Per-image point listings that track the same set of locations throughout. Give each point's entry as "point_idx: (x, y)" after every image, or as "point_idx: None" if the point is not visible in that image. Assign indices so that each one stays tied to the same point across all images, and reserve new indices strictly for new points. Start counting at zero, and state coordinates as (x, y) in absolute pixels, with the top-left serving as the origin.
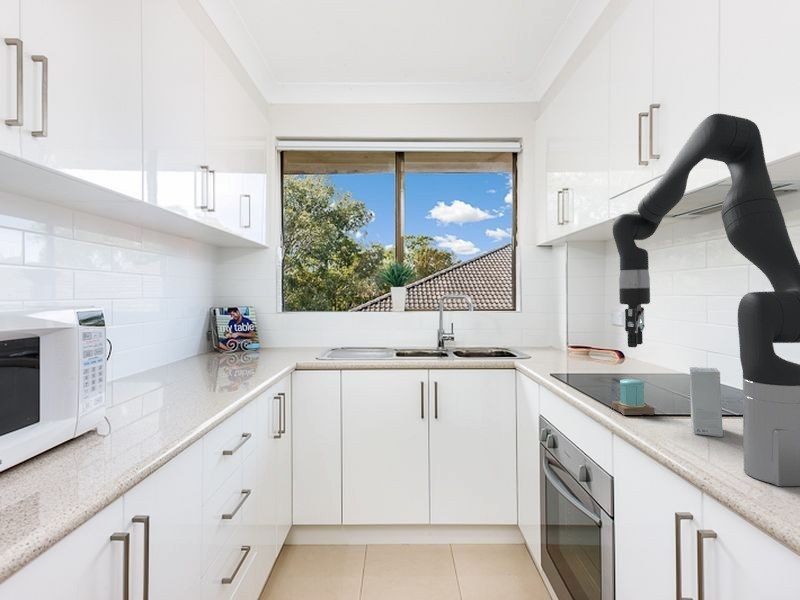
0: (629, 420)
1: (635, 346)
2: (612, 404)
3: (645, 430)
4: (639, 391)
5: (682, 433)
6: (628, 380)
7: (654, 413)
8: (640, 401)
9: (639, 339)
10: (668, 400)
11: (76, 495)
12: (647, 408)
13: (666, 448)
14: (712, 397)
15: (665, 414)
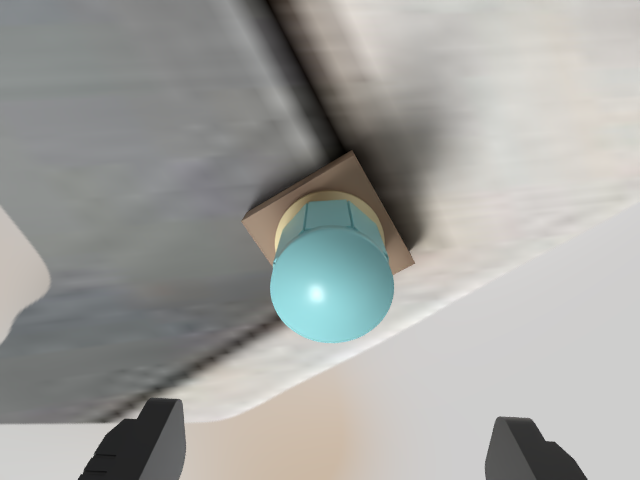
0: (469, 227)
1: (527, 427)
2: None
3: (596, 161)
4: (372, 235)
5: (600, 28)
6: (311, 307)
7: (352, 151)
8: (363, 216)
9: (162, 457)
10: (15, 114)
11: None
12: (368, 181)
13: None
14: None
15: (308, 110)
